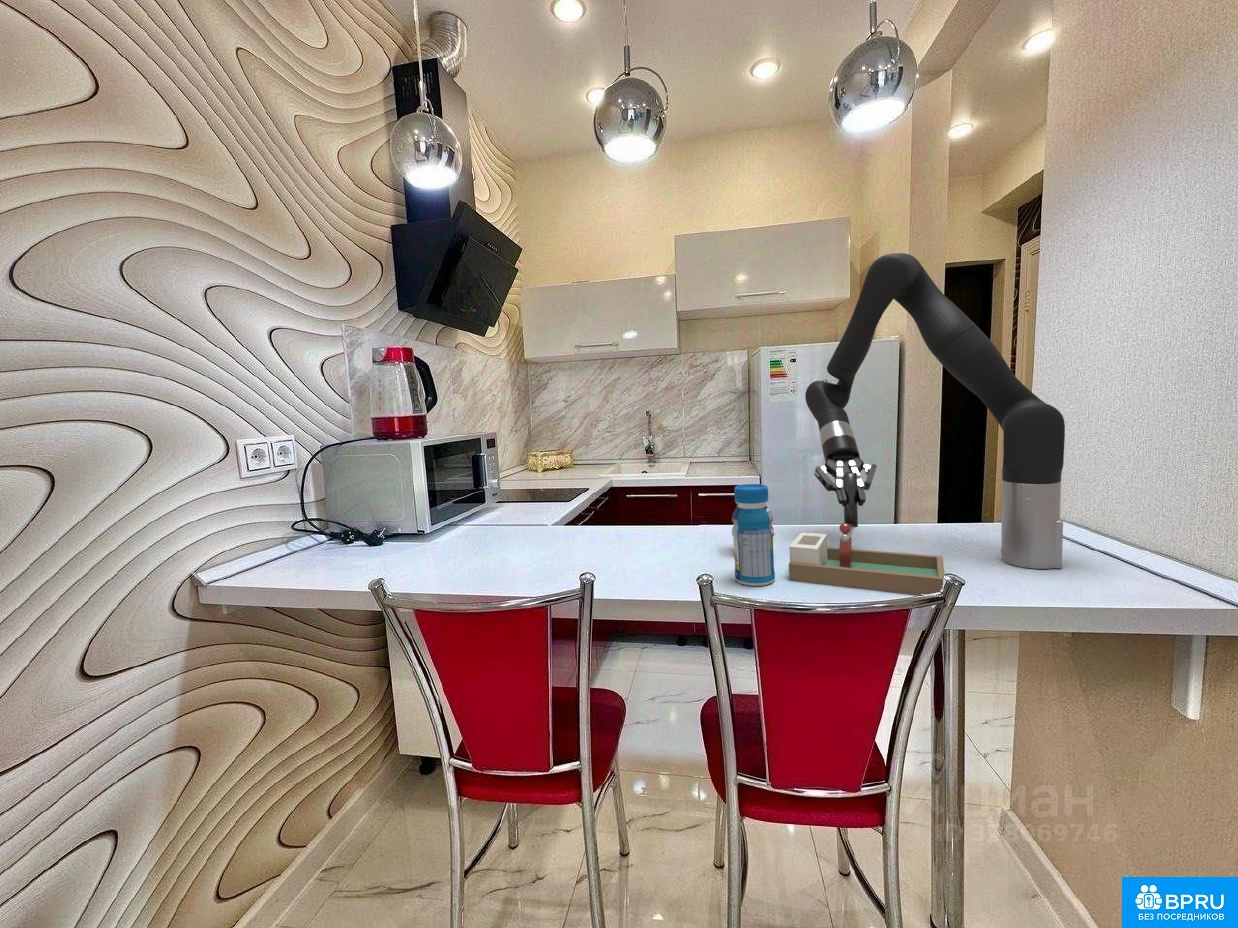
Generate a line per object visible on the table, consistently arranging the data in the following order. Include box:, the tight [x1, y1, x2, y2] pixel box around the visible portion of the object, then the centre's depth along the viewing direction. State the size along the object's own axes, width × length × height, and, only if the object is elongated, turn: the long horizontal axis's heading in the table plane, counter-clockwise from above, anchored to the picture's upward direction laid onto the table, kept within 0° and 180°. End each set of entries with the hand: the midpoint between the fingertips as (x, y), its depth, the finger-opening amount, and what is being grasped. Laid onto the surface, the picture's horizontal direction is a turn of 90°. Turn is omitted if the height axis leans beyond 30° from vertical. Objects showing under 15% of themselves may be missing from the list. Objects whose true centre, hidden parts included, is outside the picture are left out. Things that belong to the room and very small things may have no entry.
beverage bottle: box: [731, 483, 776, 587], centre depth 102 cm, size 8×8×20 cm
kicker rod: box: [838, 472, 859, 568], centre depth 105 cm, size 3×13×19 cm, turn 149°
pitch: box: [788, 532, 946, 596], centre depth 100 cm, size 27×14×7 cm, turn 59°
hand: (853, 503), depth 107 cm, fingers closed on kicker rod, 3 cm apart
